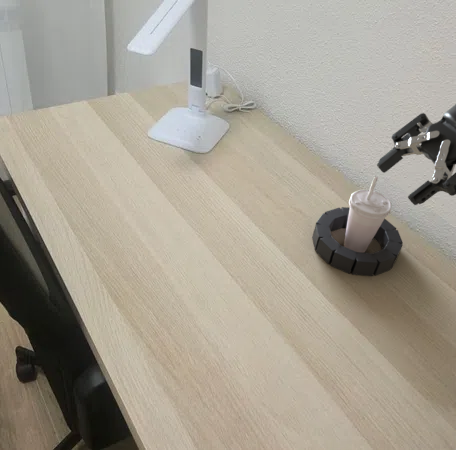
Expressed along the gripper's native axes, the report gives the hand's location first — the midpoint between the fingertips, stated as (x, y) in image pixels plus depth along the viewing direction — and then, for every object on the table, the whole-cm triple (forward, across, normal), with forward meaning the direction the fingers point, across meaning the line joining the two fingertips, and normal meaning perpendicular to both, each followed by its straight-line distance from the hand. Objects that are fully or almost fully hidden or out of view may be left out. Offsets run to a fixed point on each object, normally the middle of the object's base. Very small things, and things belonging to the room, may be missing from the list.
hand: (395, 184), depth 86 cm
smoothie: (+11, 0, +6) cm, 13 cm away
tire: (+11, 0, +6) cm, 13 cm away
